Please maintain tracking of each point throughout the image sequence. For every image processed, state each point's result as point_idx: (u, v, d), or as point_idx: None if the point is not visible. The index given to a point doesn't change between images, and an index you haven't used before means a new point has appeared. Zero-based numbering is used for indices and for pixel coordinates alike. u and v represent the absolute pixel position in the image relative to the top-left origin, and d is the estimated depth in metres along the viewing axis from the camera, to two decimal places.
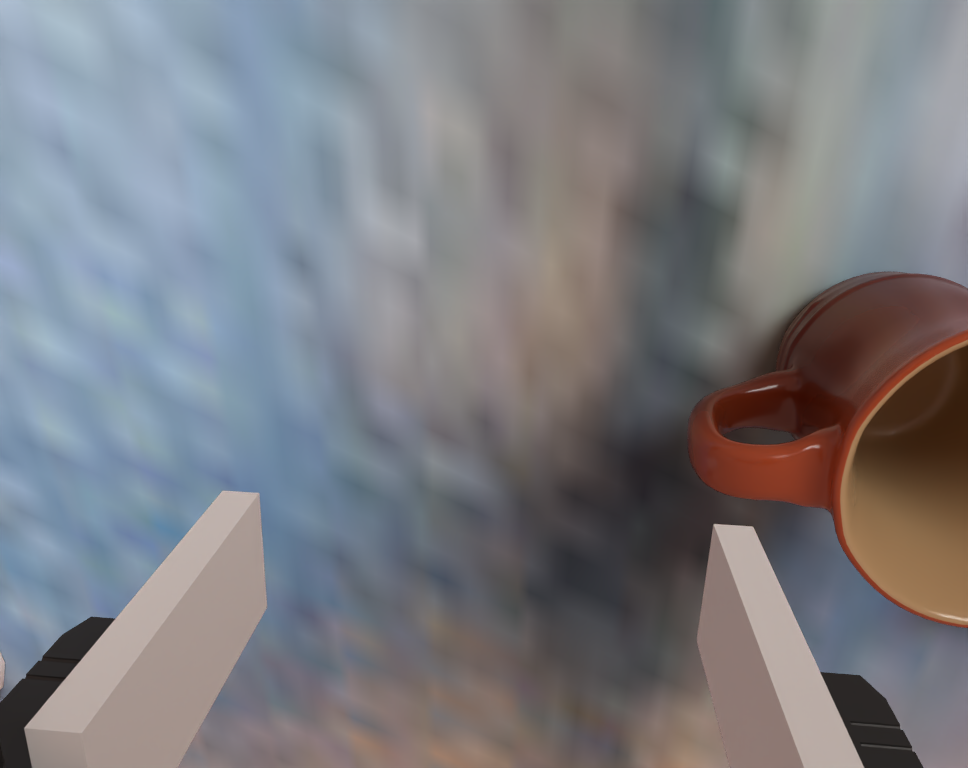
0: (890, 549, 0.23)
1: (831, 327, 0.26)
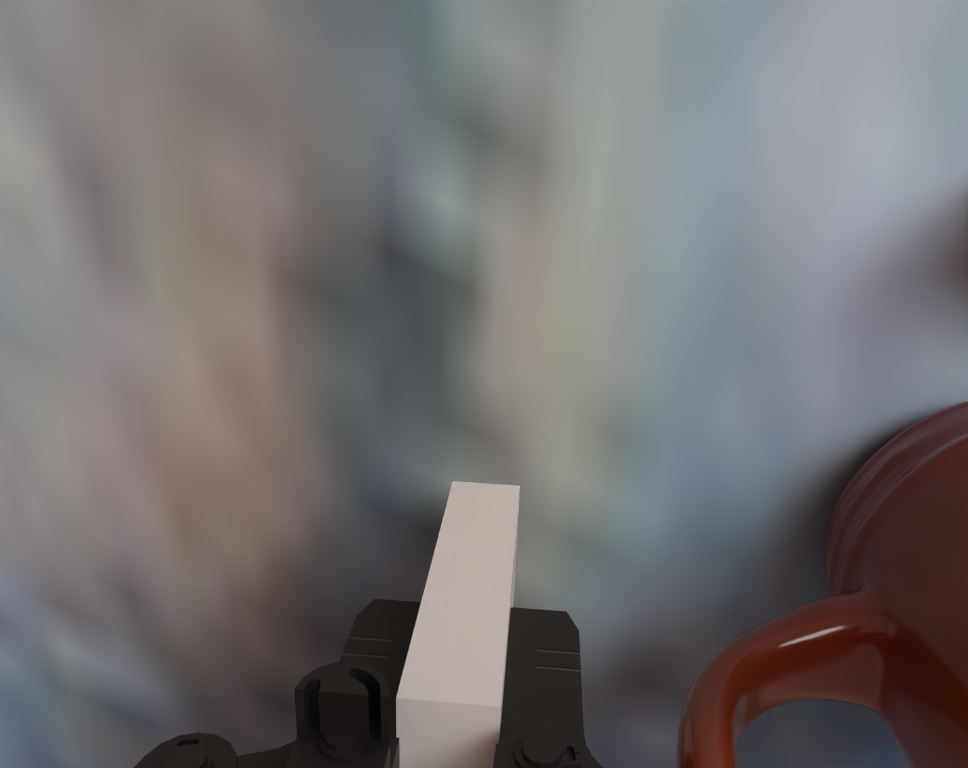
0: None
1: (944, 527, 0.14)
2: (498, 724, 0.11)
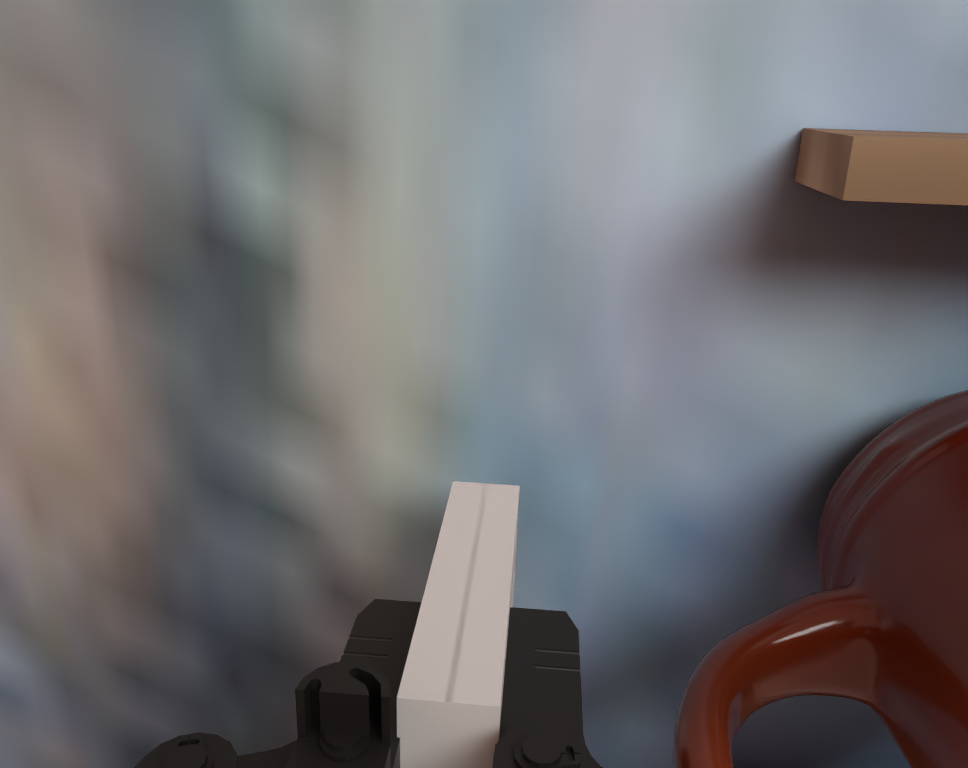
0: None
1: (935, 520, 0.14)
2: (497, 724, 0.11)
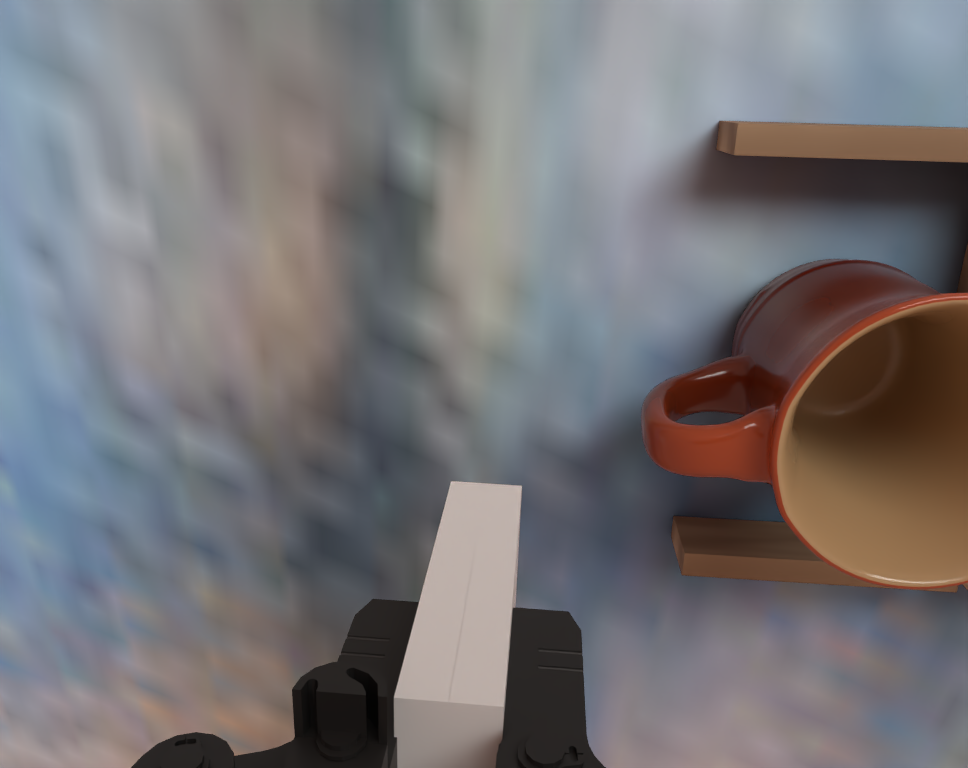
0: (832, 518, 0.24)
1: (774, 313, 0.27)
2: (501, 724, 0.11)
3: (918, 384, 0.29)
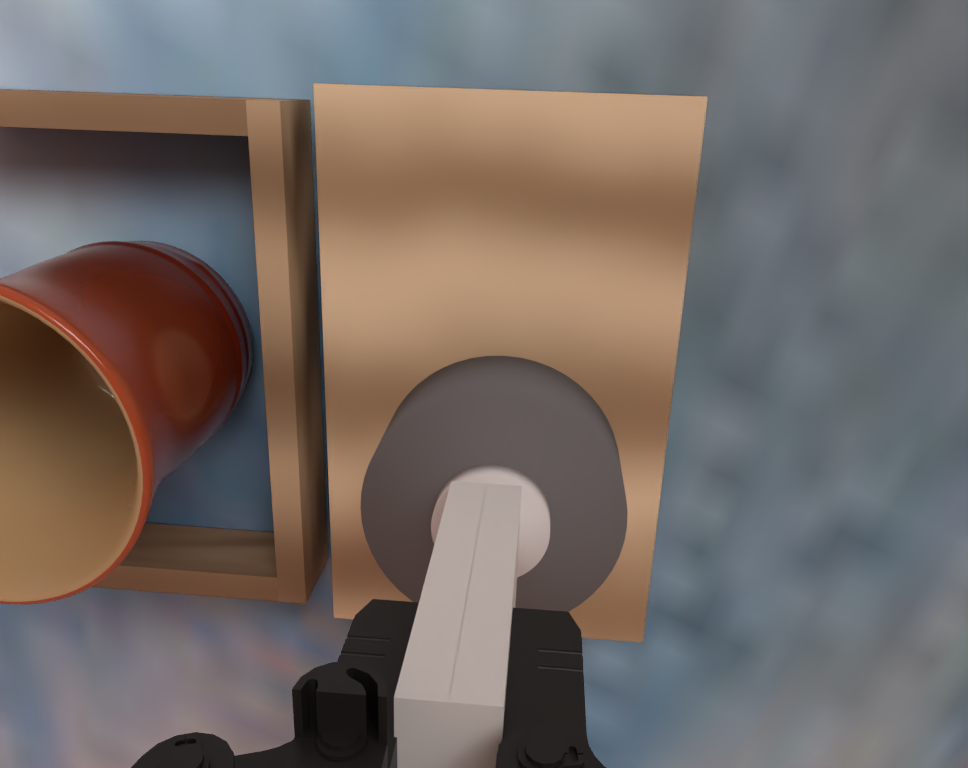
0: None
1: None
2: (501, 724, 0.11)
3: None
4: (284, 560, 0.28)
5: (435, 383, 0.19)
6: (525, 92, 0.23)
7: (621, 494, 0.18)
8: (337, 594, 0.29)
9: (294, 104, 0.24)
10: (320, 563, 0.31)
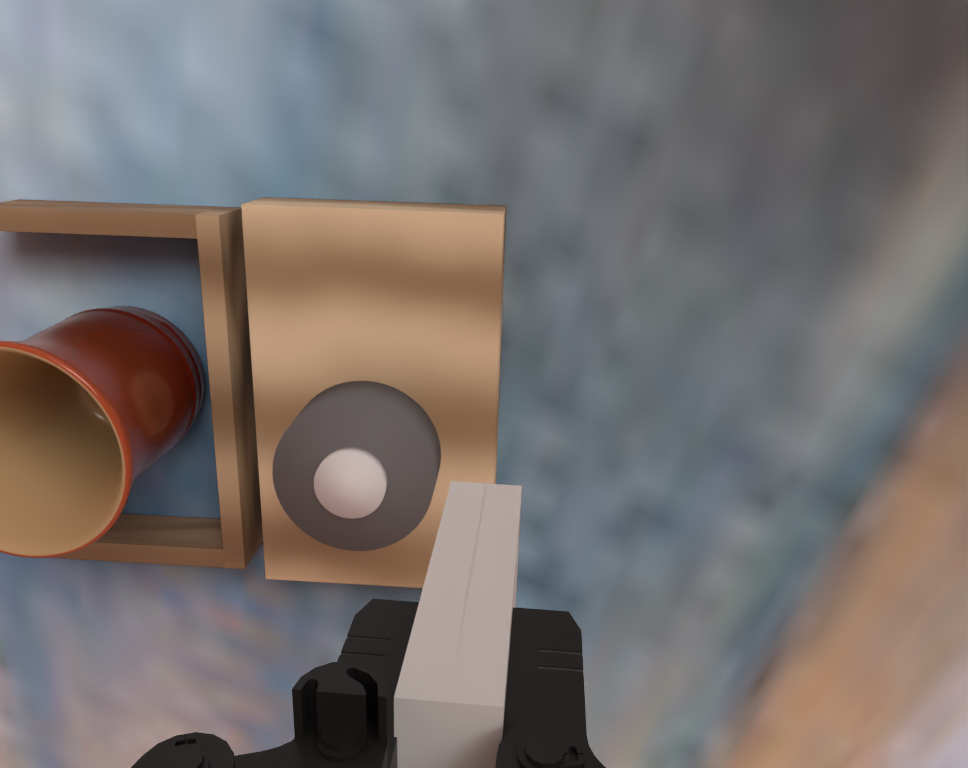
0: (0, 506, 0.32)
1: None
2: (501, 724, 0.11)
3: None
4: (228, 536, 0.39)
5: (319, 398, 0.30)
6: (383, 210, 0.34)
7: (428, 463, 0.29)
8: (267, 561, 0.39)
9: (230, 214, 0.35)
10: (257, 540, 0.41)
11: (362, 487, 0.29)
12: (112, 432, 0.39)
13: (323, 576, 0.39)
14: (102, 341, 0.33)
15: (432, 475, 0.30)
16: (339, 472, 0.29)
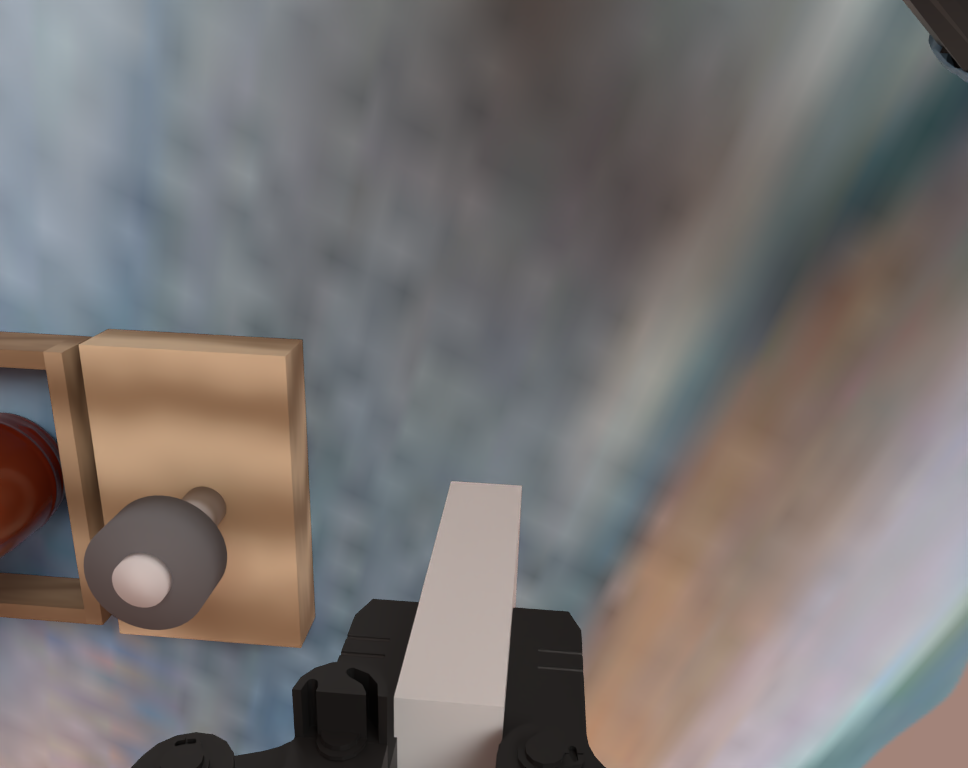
0: None
1: None
2: (501, 724, 0.11)
3: None
4: (87, 599, 0.48)
5: (122, 511, 0.39)
6: (190, 352, 0.42)
7: (201, 566, 0.38)
8: None
9: (76, 347, 0.44)
10: None
11: (149, 585, 0.38)
12: None
13: (166, 632, 0.48)
14: None
15: (205, 575, 0.38)
16: (130, 573, 0.38)
